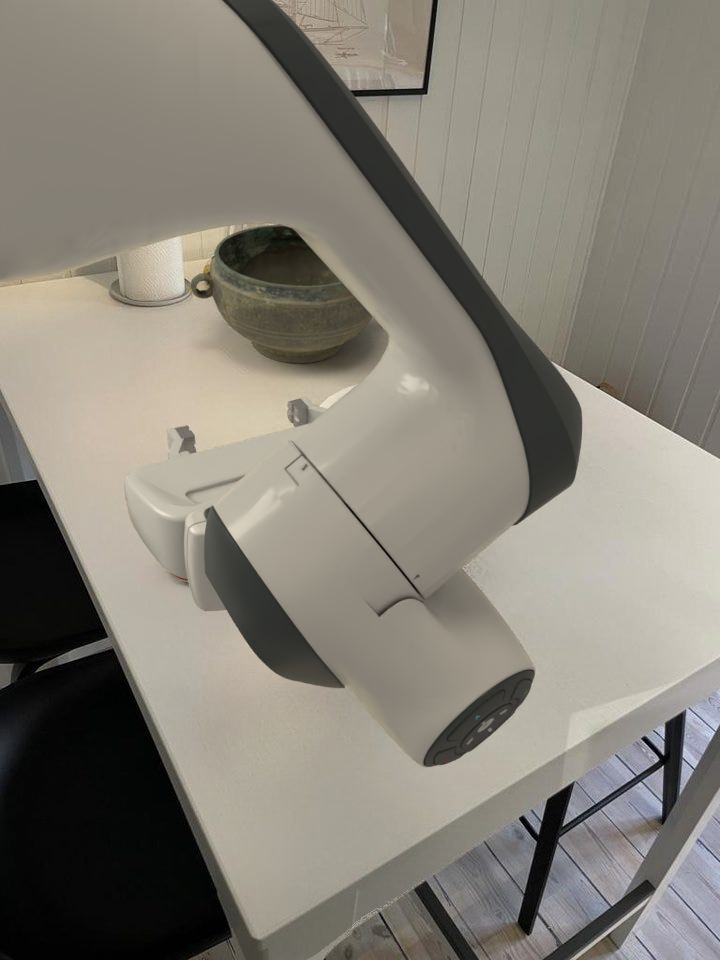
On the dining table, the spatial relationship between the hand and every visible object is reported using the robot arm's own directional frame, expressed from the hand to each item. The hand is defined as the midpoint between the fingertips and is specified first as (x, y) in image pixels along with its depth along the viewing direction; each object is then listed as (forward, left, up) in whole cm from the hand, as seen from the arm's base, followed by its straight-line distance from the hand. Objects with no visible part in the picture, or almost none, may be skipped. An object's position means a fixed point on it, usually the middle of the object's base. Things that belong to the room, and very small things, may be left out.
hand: (238, 420), depth 56 cm
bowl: (+59, +20, -25) cm, 67 cm away
